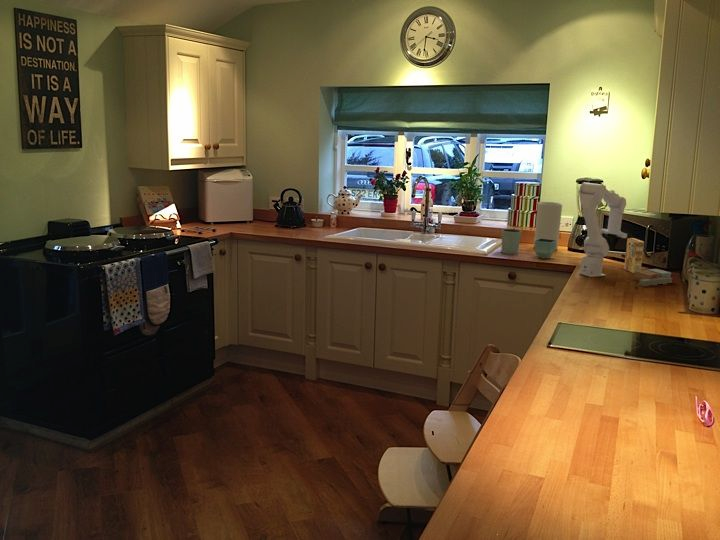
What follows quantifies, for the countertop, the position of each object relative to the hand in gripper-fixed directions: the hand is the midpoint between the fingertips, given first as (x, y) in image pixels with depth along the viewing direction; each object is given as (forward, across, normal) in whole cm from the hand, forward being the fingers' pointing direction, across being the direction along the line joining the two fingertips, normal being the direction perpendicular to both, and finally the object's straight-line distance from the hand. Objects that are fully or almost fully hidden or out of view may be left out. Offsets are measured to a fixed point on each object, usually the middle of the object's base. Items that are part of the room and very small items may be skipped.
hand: (611, 250), depth 330 cm
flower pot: (+10, +34, +10) cm, 37 cm away
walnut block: (+10, -22, 0) cm, 24 cm away
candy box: (+10, -4, -11) cm, 15 cm away
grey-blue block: (+10, -22, -8) cm, 25 cm away
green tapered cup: (+10, +49, +20) cm, 54 cm away
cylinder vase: (+10, +52, -7) cm, 53 cm away
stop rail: (+10, -27, 0) cm, 29 cm away
